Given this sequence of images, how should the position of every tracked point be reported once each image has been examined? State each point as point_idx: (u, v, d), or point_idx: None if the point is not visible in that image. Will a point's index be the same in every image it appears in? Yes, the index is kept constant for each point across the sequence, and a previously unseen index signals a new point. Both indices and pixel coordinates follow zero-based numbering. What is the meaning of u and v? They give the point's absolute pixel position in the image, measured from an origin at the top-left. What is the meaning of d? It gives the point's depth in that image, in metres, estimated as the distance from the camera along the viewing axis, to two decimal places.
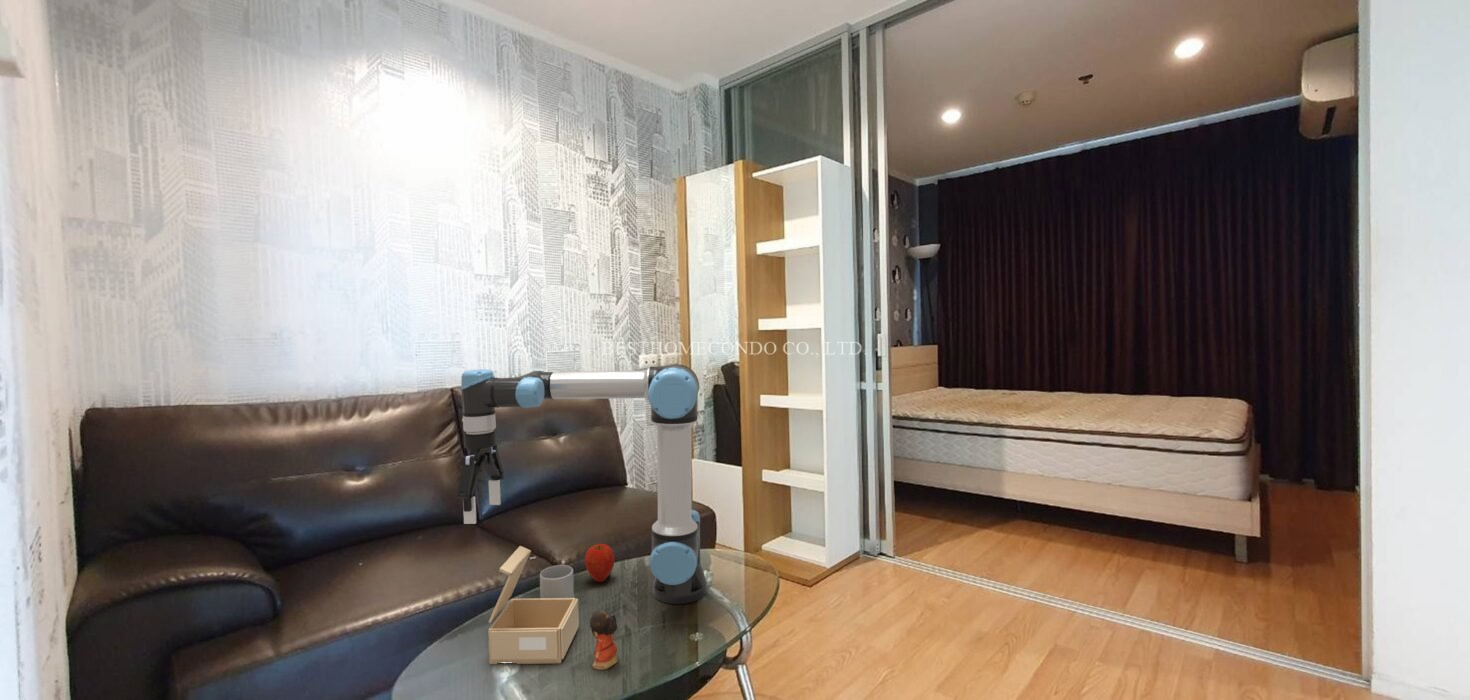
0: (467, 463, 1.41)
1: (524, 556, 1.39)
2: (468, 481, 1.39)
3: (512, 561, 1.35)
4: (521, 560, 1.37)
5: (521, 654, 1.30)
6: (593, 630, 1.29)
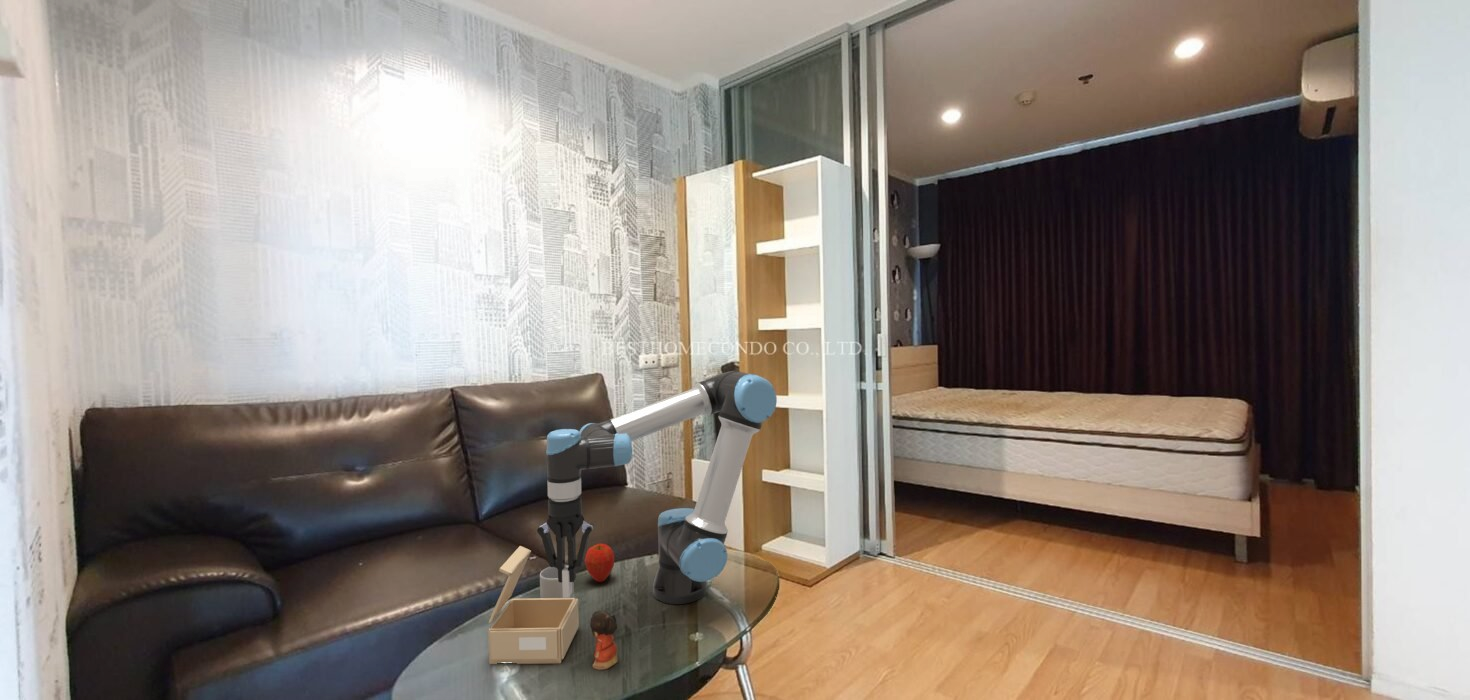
0: None
1: (524, 556, 1.39)
2: None
3: (512, 561, 1.35)
4: (521, 560, 1.37)
5: (521, 654, 1.30)
6: (593, 630, 1.29)
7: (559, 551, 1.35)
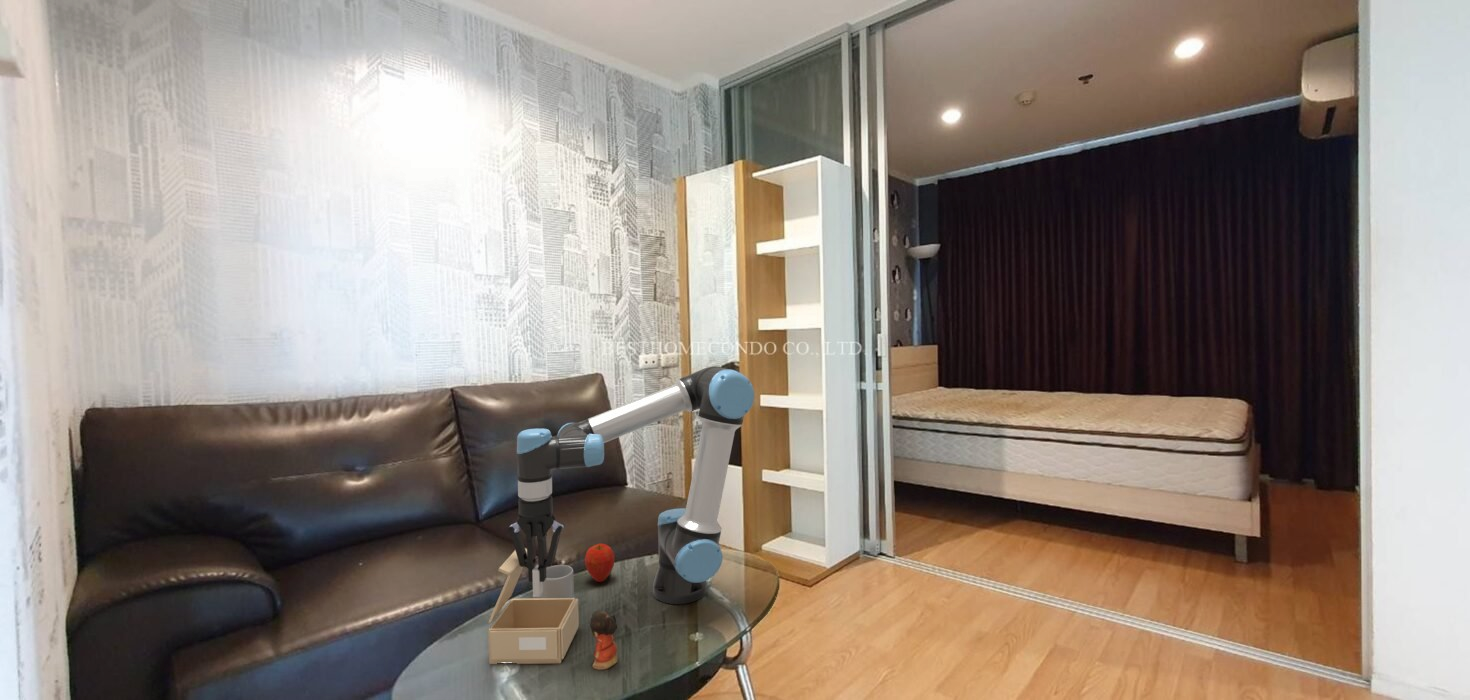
0: None
1: None
2: None
3: (511, 561, 1.35)
4: None
5: (521, 654, 1.30)
6: (593, 630, 1.29)
7: (529, 550, 1.35)
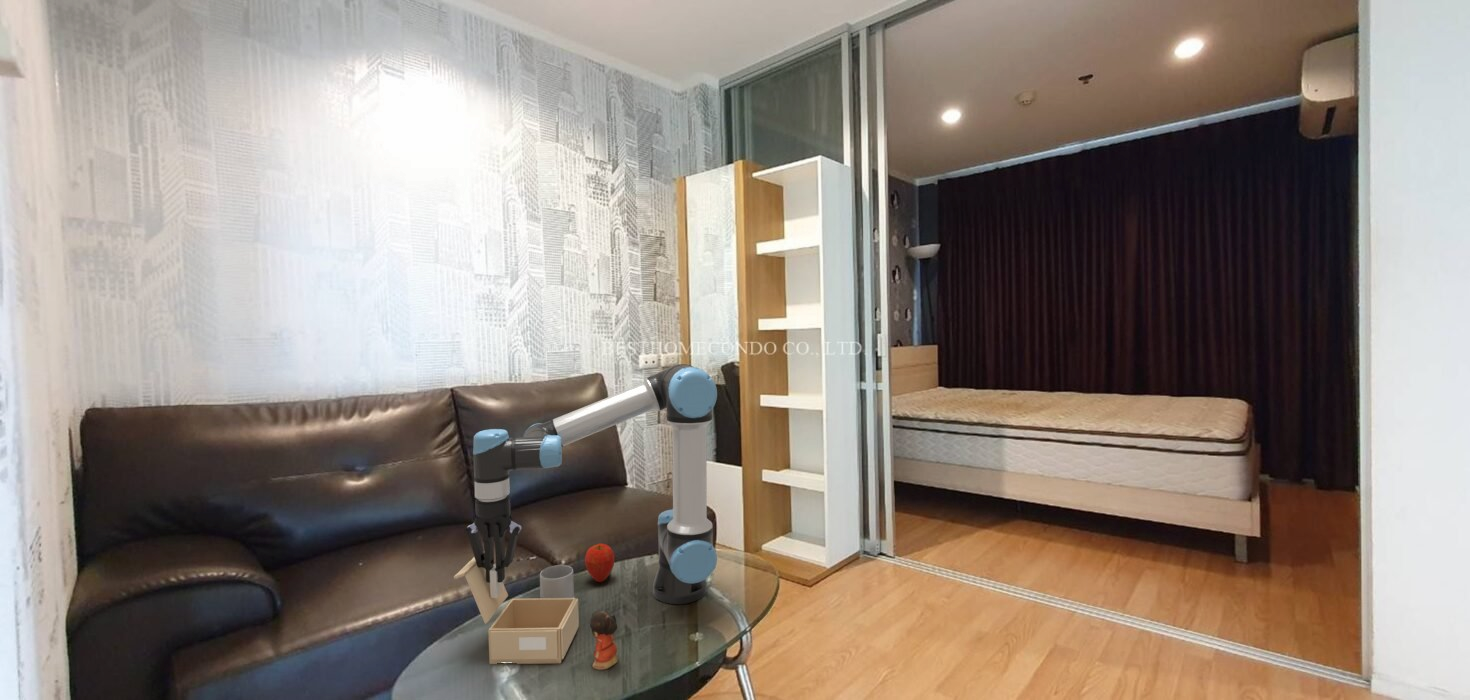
0: None
1: None
2: None
3: (467, 565, 1.35)
4: None
5: (521, 654, 1.30)
6: (593, 630, 1.29)
7: (487, 551, 1.35)
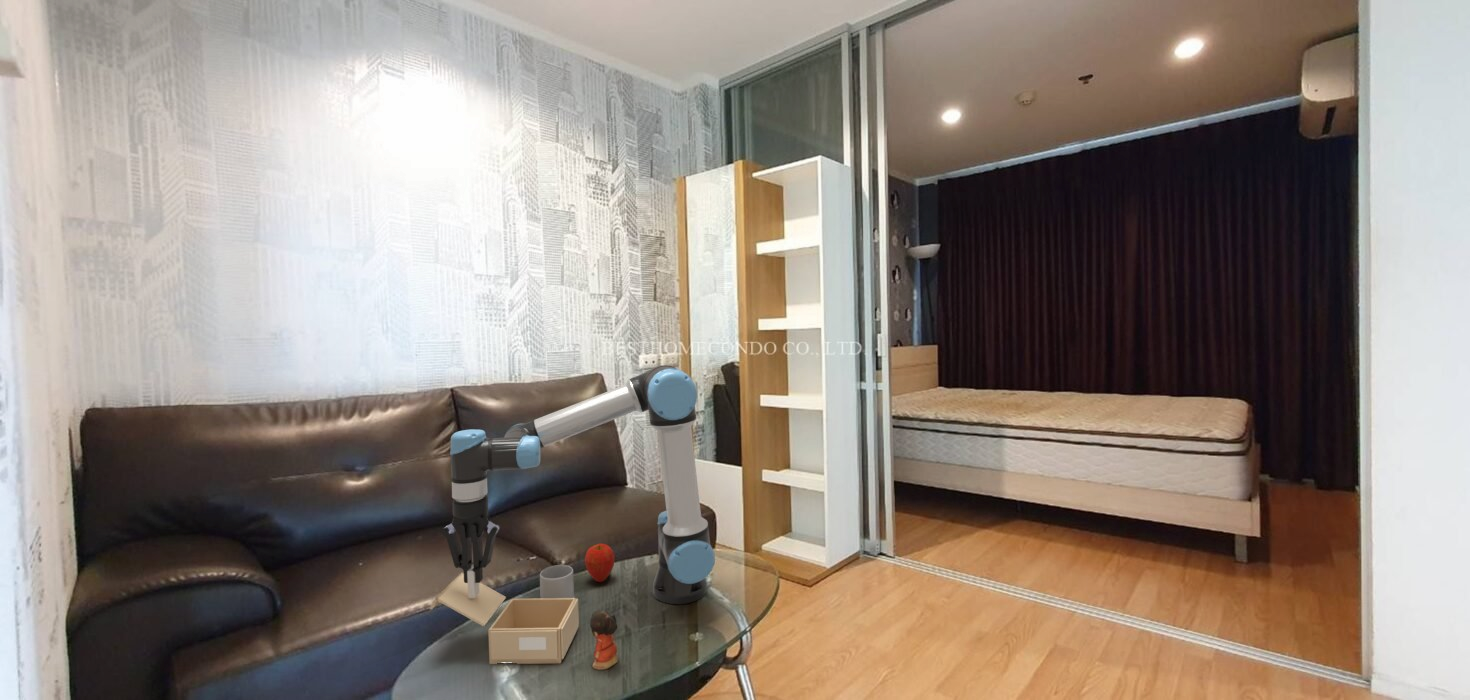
0: None
1: (453, 580, 1.39)
2: None
3: None
4: (449, 584, 1.37)
5: (521, 654, 1.30)
6: (593, 630, 1.29)
7: (464, 552, 1.35)
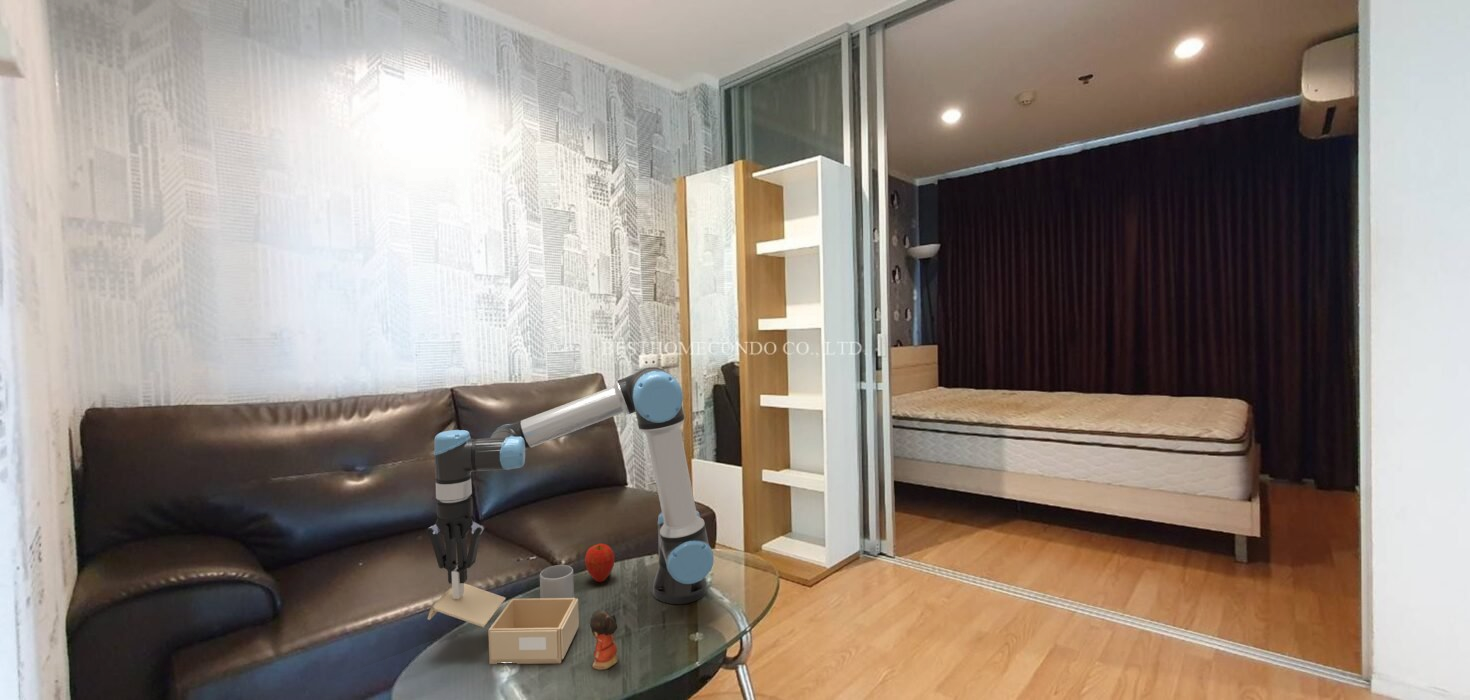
0: None
1: None
2: None
3: None
4: None
5: (521, 654, 1.30)
6: (593, 630, 1.29)
7: (448, 552, 1.35)
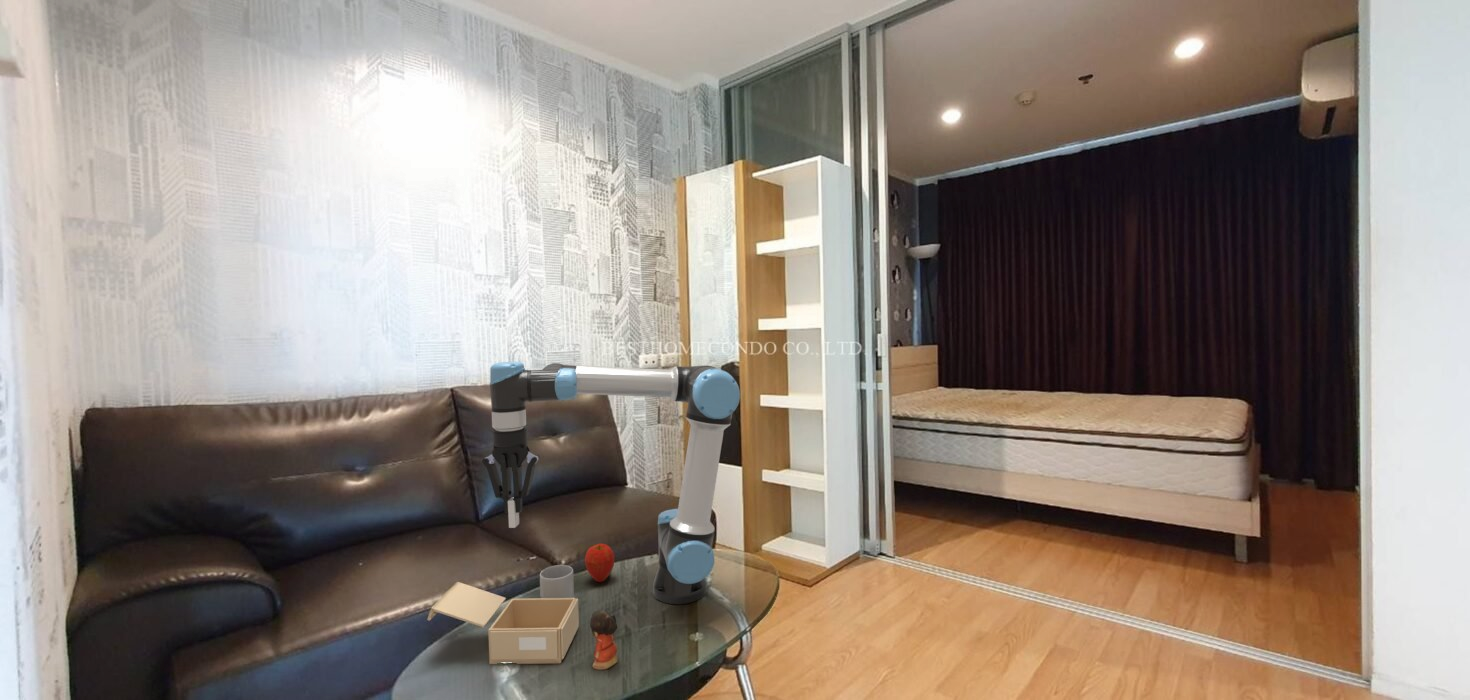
0: None
1: None
2: None
3: None
4: None
5: (521, 654, 1.30)
6: (593, 630, 1.29)
7: (504, 481, 1.37)
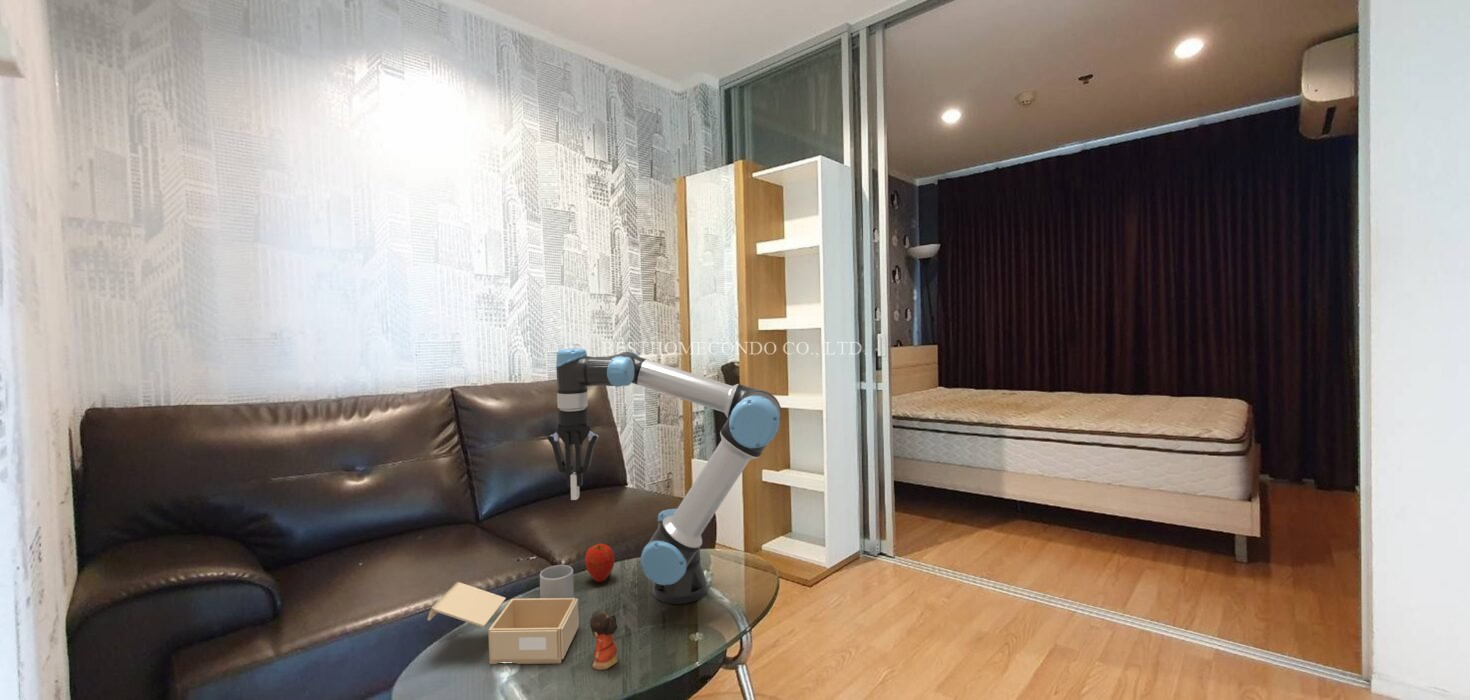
0: None
1: None
2: None
3: None
4: None
5: (521, 654, 1.30)
6: (593, 630, 1.29)
7: (568, 457, 1.50)
